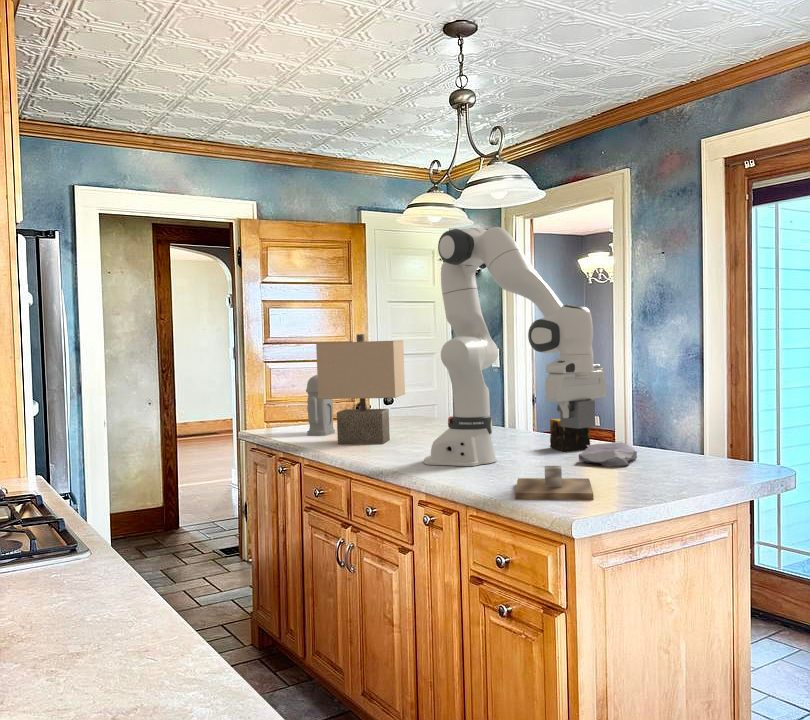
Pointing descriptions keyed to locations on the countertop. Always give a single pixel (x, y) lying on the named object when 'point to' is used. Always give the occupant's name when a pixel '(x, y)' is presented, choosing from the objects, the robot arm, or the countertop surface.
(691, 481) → the countertop surface
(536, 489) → the brown square plate
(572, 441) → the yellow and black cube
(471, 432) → the robot arm
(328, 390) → the lamp
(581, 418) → the grey block with cylinder
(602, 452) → the stone
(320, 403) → the grey tall figure
